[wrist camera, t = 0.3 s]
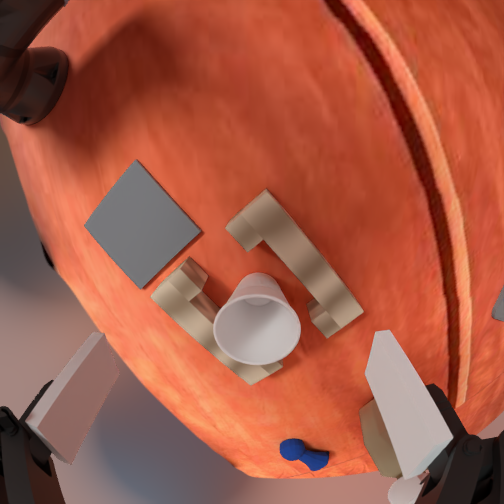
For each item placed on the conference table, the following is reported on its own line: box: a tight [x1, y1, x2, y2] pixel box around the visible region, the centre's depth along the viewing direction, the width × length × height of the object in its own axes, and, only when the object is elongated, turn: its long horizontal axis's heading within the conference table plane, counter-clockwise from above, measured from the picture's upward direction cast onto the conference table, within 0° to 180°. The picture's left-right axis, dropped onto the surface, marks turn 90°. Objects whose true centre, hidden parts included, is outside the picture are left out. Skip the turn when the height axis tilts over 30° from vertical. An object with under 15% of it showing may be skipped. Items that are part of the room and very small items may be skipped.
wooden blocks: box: [150, 188, 364, 385], centre depth 38 cm, size 21×21×5 cm
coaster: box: [84, 160, 202, 290], centre depth 38 cm, size 14×14×1 cm
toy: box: [280, 439, 329, 471], centre depth 51 cm, size 7×6×15 cm
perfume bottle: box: [359, 398, 429, 504], centre depth 35 cm, size 12×24×28 cm, turn 52°
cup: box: [213, 272, 301, 365], centre depth 35 cm, size 10×10×11 cm
